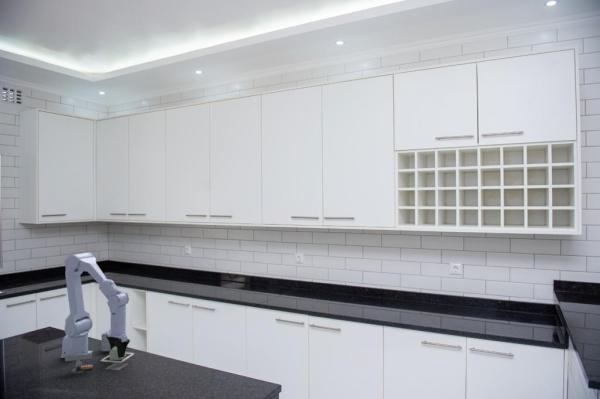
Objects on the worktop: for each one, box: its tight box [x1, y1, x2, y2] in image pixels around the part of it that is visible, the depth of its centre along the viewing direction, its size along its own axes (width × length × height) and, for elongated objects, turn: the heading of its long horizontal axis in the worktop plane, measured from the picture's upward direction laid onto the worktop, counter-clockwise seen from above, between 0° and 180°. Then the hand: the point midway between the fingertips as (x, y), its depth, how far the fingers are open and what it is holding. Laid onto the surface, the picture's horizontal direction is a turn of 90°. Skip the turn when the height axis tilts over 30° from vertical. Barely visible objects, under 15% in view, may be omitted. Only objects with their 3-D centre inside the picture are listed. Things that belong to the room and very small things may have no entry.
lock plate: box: [71, 362, 128, 374], centre depth 151 cm, size 22×12×1 cm, turn 81°
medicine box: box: [101, 330, 111, 352], centre depth 171 cm, size 8×4×9 cm, turn 92°
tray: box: [99, 352, 136, 363], centre depth 162 cm, size 10×10×2 cm
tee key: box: [64, 351, 93, 371], centre depth 150 cm, size 9×2×6 cm, turn 109°
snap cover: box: [108, 347, 127, 361], centre depth 162 cm, size 5×5×4 cm
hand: (117, 354), depth 162 cm, fingers open, 7 cm apart
